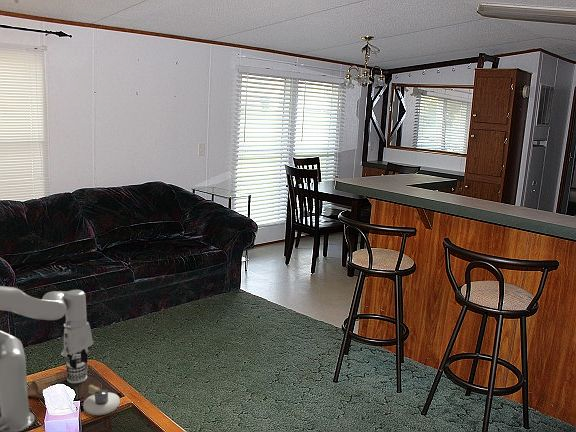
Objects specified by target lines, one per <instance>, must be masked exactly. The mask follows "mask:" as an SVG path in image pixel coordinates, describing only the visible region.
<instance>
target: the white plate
mask: <svg viewBox="0 0 576 432" xmlns="http://www.w3.org/2000/svg"><path fill="white" fill-rule="evenodd" d="M119 404H121V401H120V396H119V395H118V394H116V393H114V392H109V391H108V402H107V403H106V404H103V405H97V404H96V403H95V396H94V395H92V394H91V395H90V396H88V397H87V398H86V399H85V400H84V401H83V411H84V412H85V413H86V414H88V415H91V416H103V415H108V414H110V413H112V412H115V411H116V410H117V409H118V408H119V407H120V405H119ZM118 406H119V407H118ZM117 407H118V408H117Z"/></svg>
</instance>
